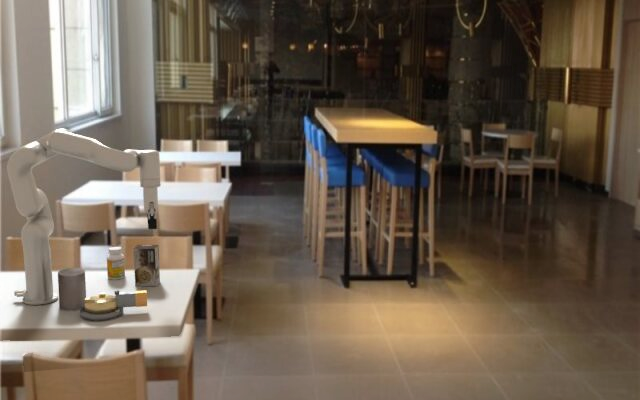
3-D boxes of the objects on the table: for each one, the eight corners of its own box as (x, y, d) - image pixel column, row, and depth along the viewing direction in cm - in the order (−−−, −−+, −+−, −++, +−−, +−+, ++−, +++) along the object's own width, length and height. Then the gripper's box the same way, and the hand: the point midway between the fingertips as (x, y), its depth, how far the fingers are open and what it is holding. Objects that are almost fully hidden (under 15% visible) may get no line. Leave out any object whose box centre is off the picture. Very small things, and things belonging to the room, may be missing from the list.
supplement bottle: (107, 275, 305) (106, 246, 303) (124, 274, 307) (123, 245, 305) (107, 280, 299) (106, 250, 296) (125, 279, 301) (124, 249, 298)
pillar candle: (56, 305, 267) (53, 267, 264) (81, 300, 273) (79, 262, 270) (64, 312, 260) (62, 273, 257) (90, 307, 266) (88, 269, 263)
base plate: (78, 322, 249) (78, 316, 249) (82, 308, 264) (81, 302, 263) (122, 319, 253) (122, 313, 252) (124, 306, 267) (123, 299, 267)
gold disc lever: (82, 314, 251) (82, 298, 250) (85, 303, 262) (85, 288, 261) (147, 310, 256) (146, 294, 255) (147, 300, 267) (146, 284, 266)
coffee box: (160, 281, 298) (159, 244, 295) (156, 286, 291) (155, 248, 288) (138, 281, 298) (137, 244, 295) (134, 286, 291) (133, 248, 288)
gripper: (140, 179, 278) (141, 222, 282) (140, 186, 262) (142, 231, 265) (159, 178, 280) (161, 221, 284) (161, 185, 264) (163, 230, 267)
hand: (152, 226), depth 274 cm, fingers open, 9 cm apart
